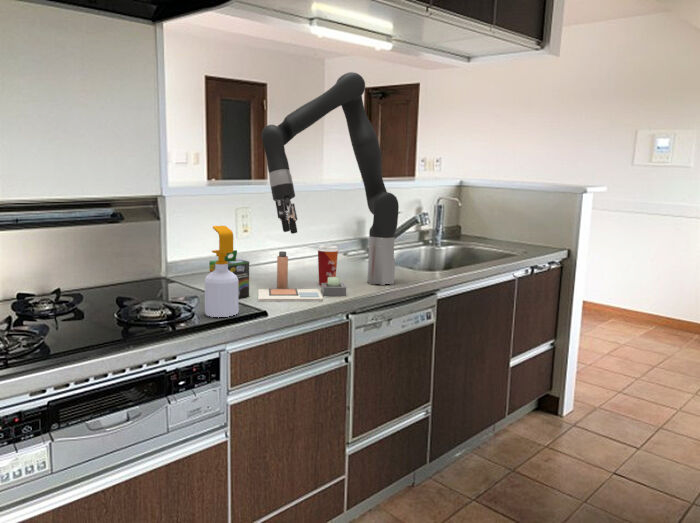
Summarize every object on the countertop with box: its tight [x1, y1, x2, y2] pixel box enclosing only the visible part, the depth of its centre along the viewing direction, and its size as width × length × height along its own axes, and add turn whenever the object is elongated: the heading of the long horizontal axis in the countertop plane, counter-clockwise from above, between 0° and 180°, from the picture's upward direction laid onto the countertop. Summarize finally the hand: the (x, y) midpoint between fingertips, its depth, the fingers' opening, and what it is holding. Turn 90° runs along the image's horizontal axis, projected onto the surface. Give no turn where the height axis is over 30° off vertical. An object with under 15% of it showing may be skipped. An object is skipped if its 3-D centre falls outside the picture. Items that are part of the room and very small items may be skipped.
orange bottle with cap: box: [276, 250, 289, 289], centre depth 194 cm, size 4×4×13 cm
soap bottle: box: [204, 225, 239, 319], centre depth 157 cm, size 9×9×25 cm
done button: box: [328, 276, 341, 287], centre depth 188 cm, size 4×4×4 cm
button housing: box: [320, 282, 347, 297], centre depth 189 cm, size 7×7×3 cm
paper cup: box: [316, 244, 340, 285], centre depth 201 cm, size 8×8×14 cm
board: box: [257, 288, 324, 302], centre depth 184 cm, size 20×14×1 cm
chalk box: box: [209, 249, 250, 299], centre depth 180 cm, size 9×9×15 cm
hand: (290, 232), depth 191 cm, fingers open, 8 cm apart
